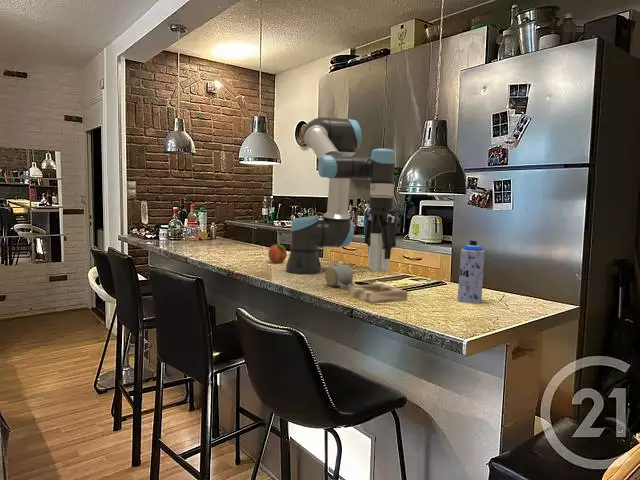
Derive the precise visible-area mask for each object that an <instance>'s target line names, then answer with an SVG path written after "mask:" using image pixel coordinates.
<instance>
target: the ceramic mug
mask: <svg viewBox="0 0 640 480" xmlns="http://www.w3.org/2000/svg"><path fill="white" fill-rule="evenodd" d="M324 279H325V282H326V284H327V285H328V286H330V287H331V288H333V287H334V288H335V287H340V288H342V289H344V290H348V286H354V281H353V279H354V275H353V270H352V268H351V267H350V266H349V265H347V264H340V265H336V266H330V267H329V268H328V269H326V270H325V273H324Z"/></svg>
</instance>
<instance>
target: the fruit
mask: <svg viewBox="0 0 640 480" xmlns="http://www.w3.org/2000/svg"><path fill="white" fill-rule="evenodd" d="M287 254H288V253H287V250H286V247H285V245H283V244H279V241H276V243H275V244H269V249H268V259H269V260H270V262H272V263H274V264H281V263H283V262H284V261H285V260H286V258H287Z"/></svg>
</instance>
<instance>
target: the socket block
mask: <svg viewBox="0 0 640 480" xmlns="http://www.w3.org/2000/svg"><path fill="white" fill-rule="evenodd" d="M347 295H349V296H350V297H351V296H352V297H353V298H356V299H359V300H362V301H363V302H366V301H367V302H366V303H370V304H372V303H373V304H381V303H389V302H390V303H391V302H397V301H407V300H408V291H407V290H404V289H401V288H398V287H394V286H391V285H387V284H384V283H371V284H361V285H359V284H358V285H353V286H350V285H348V289H347Z"/></svg>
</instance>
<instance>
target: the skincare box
mask: <svg viewBox="0 0 640 480" xmlns="http://www.w3.org/2000/svg"><path fill="white" fill-rule="evenodd" d="M382 247H384V245H383V239H382V233H381V232H378V233H371V242H370V266H368V267H369V270H372V271H375V272H388V270H389V269H381V262H382Z"/></svg>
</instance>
